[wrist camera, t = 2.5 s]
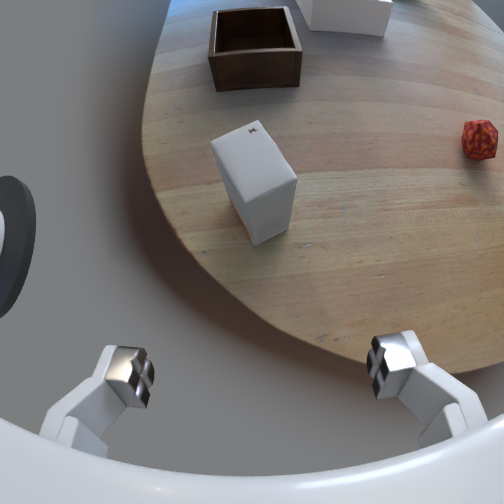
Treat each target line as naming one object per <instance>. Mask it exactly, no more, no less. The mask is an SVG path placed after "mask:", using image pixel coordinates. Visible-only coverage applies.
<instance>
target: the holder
mask: <svg viewBox="0 0 504 504" xmlns="http://www.w3.org/2000/svg"><path fill="white" fill-rule="evenodd" d="M208 59H209V63H210V68H211V72H212V76H213V80H214V85H215V89H216V92H221V91H231V90H241V89H254V88H272V87H299V84H300V73H301V62H302V48H301V45H300V42H299V39H298V35H297V32H296V29H295V26H294V23H293V20H292V17H291V14H290V11H289V8H288V6H283V7H253V8H239V9H229V10H220V11H213V14H212V22H211V32H210V42H209V53H208Z"/></svg>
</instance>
